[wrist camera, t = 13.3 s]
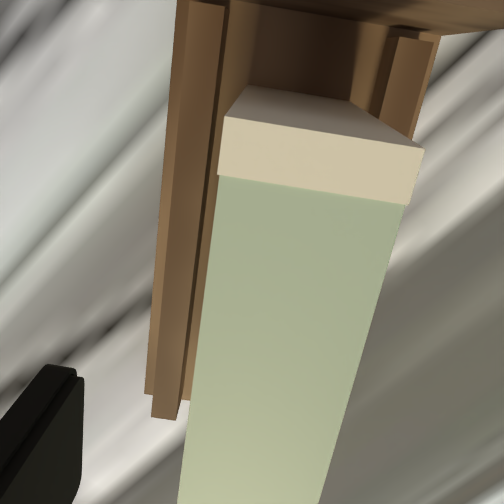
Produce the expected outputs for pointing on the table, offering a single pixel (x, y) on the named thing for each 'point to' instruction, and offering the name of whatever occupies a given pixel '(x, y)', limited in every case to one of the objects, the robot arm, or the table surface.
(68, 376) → the robot arm
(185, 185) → the book rack
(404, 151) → the sage book
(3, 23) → the table surface
